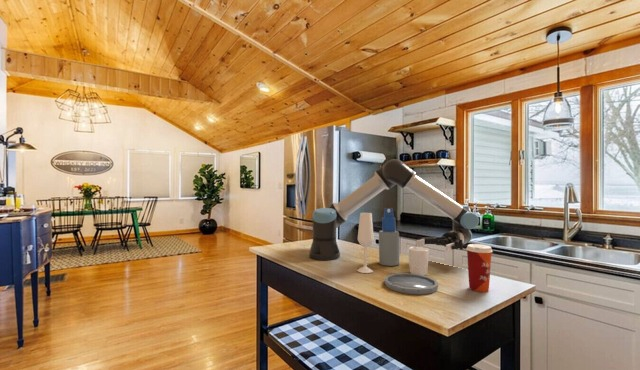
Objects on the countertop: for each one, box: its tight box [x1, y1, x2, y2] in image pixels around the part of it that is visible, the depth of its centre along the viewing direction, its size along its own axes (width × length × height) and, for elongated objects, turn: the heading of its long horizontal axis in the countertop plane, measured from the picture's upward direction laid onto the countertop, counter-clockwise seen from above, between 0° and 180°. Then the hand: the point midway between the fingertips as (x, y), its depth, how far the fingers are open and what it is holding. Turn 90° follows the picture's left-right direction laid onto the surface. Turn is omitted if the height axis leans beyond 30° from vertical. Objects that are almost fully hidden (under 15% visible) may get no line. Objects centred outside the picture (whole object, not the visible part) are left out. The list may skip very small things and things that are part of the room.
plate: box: [384, 272, 439, 296], centre depth 113 cm, size 18×18×2 cm
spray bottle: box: [378, 207, 401, 267], centre depth 143 cm, size 9×9×25 cm
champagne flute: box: [356, 212, 375, 274], centre depth 132 cm, size 7×7×24 cm
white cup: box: [408, 246, 430, 276], centre depth 129 cm, size 8×8×10 cm
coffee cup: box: [466, 243, 494, 293], centre depth 110 cm, size 8×8×15 cm
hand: (431, 246), depth 135 cm, fingers open, 13 cm apart
